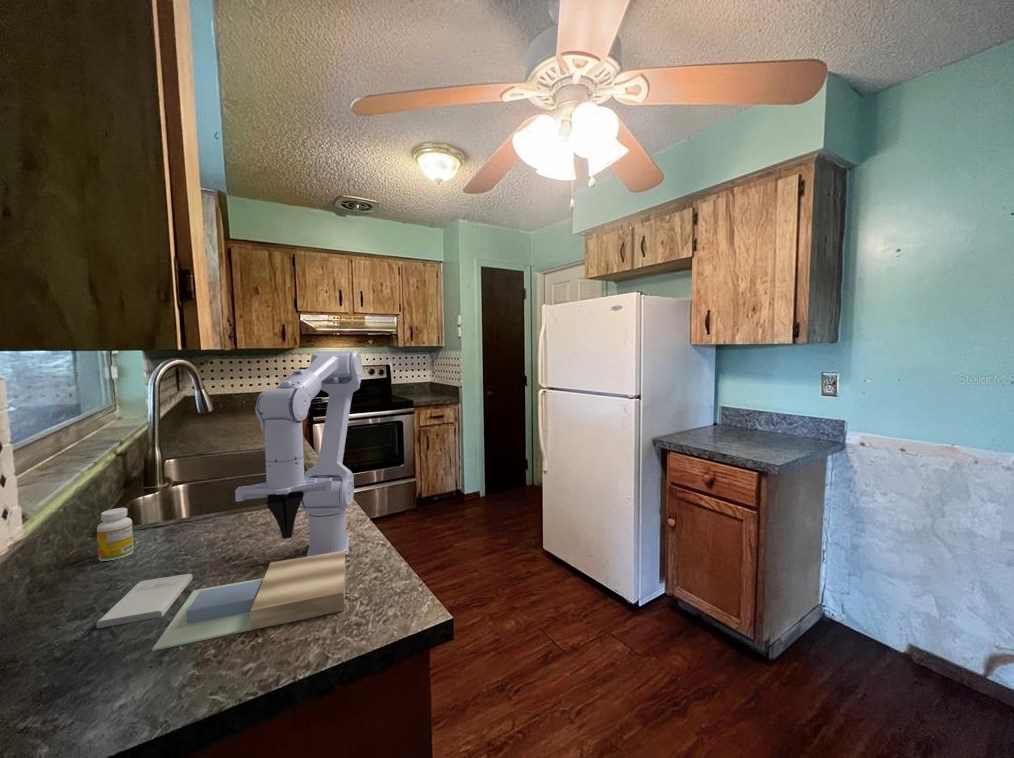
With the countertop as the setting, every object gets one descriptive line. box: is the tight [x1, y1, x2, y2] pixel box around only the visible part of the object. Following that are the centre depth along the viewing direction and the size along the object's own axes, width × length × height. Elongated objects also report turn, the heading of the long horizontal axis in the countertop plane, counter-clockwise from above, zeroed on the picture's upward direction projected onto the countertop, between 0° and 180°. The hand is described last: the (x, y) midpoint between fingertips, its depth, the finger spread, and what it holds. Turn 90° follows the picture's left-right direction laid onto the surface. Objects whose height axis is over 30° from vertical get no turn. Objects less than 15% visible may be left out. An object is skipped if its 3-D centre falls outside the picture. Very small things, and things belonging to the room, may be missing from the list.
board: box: [250, 551, 347, 631], centre depth 71 cm, size 16×13×3 cm
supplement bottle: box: [96, 507, 134, 562], centre depth 86 cm, size 5×5×10 cm
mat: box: [151, 577, 264, 652], centre depth 67 cm, size 16×12×1 cm
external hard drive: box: [96, 573, 193, 629], centre depth 69 cm, size 2×8×12 cm
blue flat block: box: [187, 580, 262, 624], centre depth 67 cm, size 6×9×2 cm, turn 111°
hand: (287, 536), depth 70 cm, fingers closed
